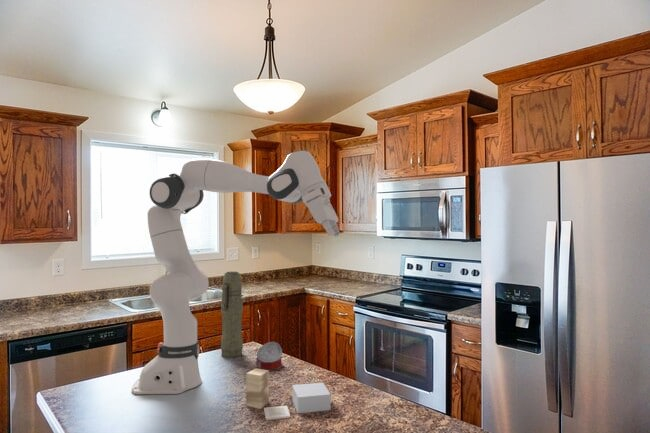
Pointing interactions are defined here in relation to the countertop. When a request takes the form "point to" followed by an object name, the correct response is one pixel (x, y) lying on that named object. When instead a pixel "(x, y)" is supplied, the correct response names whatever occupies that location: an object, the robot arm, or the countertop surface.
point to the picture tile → (276, 412)
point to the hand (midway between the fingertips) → (334, 235)
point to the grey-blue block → (311, 397)
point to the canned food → (269, 356)
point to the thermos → (231, 316)
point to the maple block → (257, 388)
